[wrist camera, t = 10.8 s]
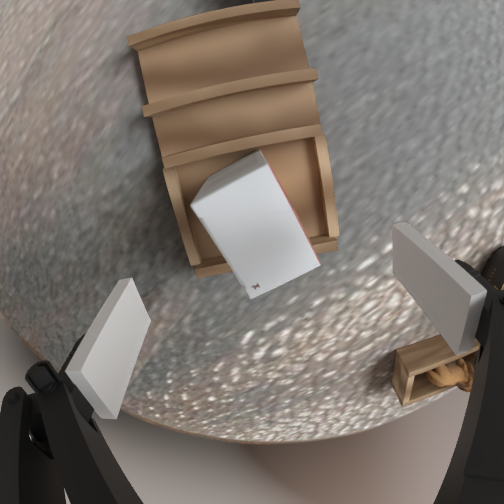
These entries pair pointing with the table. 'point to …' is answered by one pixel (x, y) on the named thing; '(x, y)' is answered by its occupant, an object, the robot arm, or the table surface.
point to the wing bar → (257, 0)
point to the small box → (254, 225)
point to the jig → (237, 114)
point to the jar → (495, 269)
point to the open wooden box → (424, 368)
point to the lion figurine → (453, 375)
